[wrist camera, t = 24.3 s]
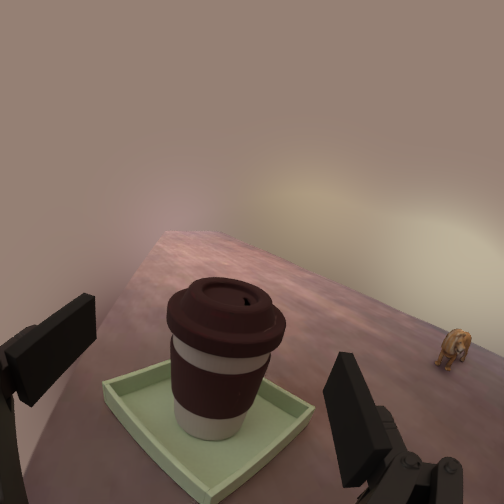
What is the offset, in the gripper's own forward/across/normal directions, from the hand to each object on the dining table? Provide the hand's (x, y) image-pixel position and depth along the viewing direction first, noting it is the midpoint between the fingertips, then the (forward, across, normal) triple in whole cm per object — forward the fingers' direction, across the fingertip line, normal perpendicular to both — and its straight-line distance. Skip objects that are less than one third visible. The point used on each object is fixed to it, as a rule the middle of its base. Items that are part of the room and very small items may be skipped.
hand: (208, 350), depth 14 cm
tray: (+10, 0, -16) cm, 19 cm away
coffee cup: (+10, 0, -16) cm, 18 cm away
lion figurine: (+28, +44, -16) cm, 55 cm away
